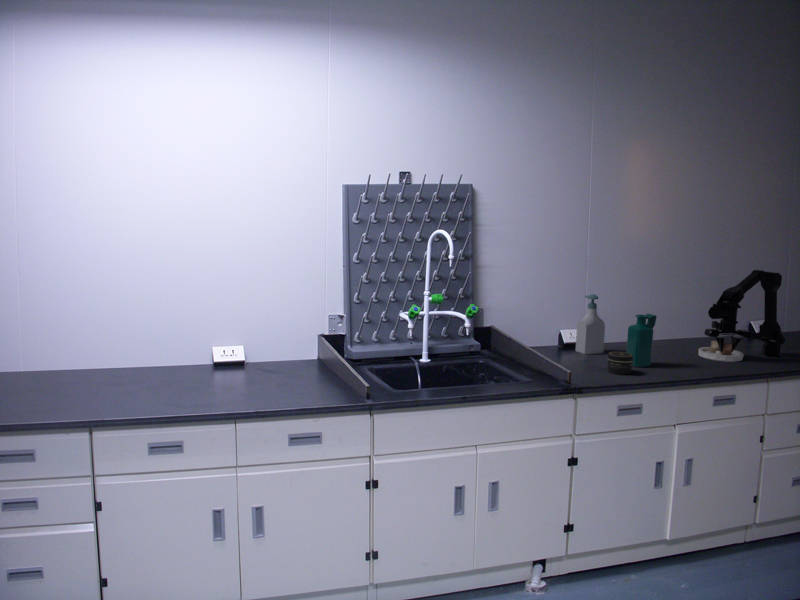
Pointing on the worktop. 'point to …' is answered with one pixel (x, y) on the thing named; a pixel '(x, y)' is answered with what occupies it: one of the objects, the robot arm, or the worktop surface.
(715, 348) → the bead maple
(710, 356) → the tray
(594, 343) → the soap bottle
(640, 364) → the pitcher
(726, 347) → the bead terracotta
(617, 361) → the jar
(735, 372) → the worktop surface
